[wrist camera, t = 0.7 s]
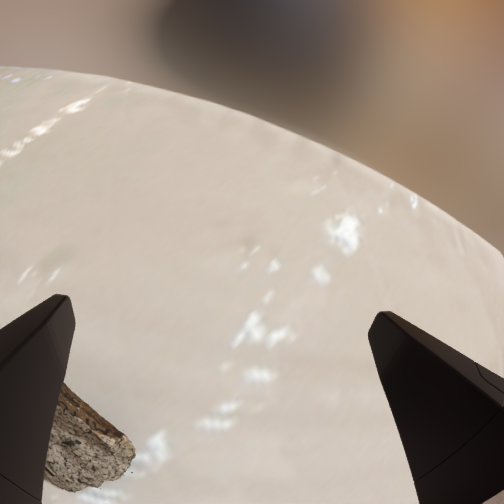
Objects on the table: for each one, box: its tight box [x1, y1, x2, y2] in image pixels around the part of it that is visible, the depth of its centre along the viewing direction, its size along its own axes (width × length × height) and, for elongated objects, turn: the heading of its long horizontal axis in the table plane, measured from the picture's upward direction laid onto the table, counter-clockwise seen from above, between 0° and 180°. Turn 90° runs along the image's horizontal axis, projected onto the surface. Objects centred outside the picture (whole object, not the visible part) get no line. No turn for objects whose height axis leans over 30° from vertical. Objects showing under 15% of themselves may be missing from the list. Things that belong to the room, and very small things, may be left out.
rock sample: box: [44, 382, 136, 492], centre depth 12 cm, size 10×8×9 cm
